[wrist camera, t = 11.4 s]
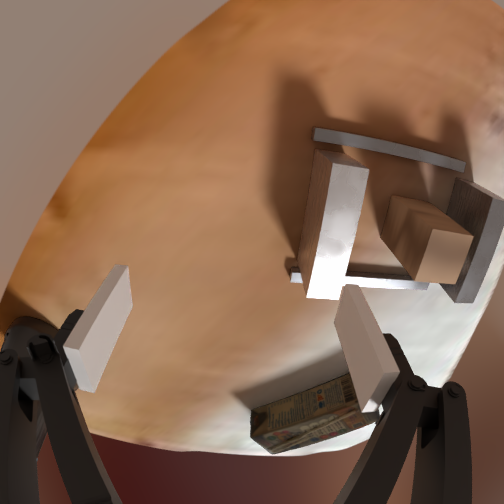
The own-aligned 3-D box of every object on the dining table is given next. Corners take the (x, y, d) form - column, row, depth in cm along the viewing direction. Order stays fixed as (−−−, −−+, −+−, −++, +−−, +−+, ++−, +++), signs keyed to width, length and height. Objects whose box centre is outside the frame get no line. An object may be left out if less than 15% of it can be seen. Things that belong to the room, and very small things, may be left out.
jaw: (296, 259, 34) (306, 297, 28) (315, 148, 29) (332, 163, 23) (323, 262, 34) (338, 299, 28) (344, 153, 29) (369, 169, 23)
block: (416, 242, 33) (455, 284, 25) (380, 237, 33) (414, 281, 25) (428, 202, 31) (473, 236, 23) (391, 194, 31) (432, 228, 23)
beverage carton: (247, 407, 47) (247, 441, 41) (361, 363, 43) (372, 398, 37) (270, 428, 50) (272, 459, 44) (374, 389, 46) (384, 421, 40)
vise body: (289, 276, 35) (296, 315, 29) (312, 126, 28) (330, 134, 22) (440, 285, 36) (465, 318, 30) (477, 165, 29) (515, 183, 23)
